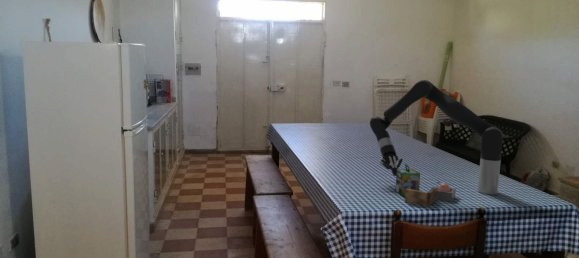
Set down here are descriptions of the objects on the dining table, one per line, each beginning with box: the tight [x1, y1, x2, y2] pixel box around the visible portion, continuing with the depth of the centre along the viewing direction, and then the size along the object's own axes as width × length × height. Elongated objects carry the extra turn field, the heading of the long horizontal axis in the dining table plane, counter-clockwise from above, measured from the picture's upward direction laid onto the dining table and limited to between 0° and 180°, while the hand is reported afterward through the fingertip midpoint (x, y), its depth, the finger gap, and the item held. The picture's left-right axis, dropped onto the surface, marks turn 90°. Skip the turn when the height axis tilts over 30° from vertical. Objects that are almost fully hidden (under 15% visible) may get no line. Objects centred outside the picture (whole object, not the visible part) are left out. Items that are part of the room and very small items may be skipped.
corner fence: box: [404, 187, 436, 207], centre depth 201 cm, size 11×11×6 cm
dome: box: [437, 182, 451, 192], centre depth 207 cm, size 6×6×6 cm
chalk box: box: [395, 163, 421, 197], centre depth 212 cm, size 9×9×15 cm
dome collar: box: [434, 185, 457, 202], centre depth 207 cm, size 9×9×4 cm
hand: (396, 175), depth 223 cm, fingers closed
